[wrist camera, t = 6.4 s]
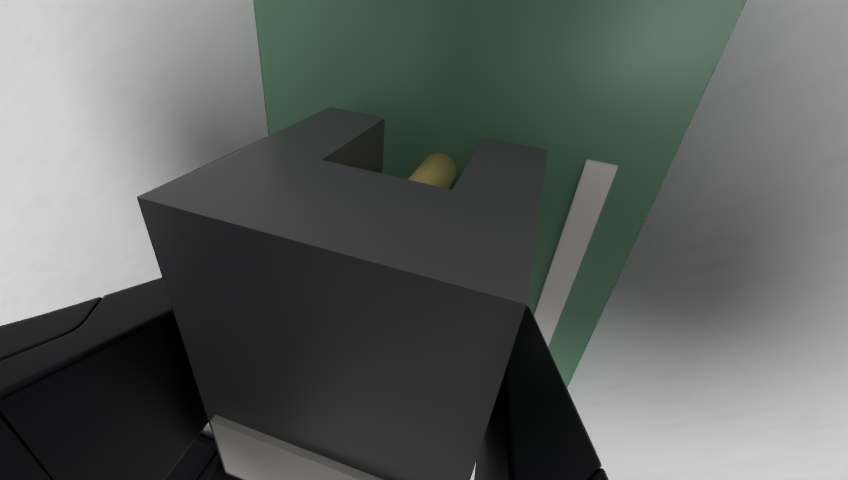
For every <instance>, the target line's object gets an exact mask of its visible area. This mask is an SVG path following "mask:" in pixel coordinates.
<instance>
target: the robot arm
mask: <svg viewBox="0 0 848 480" xmlns="http://www.w3.org/2000/svg"><path fill="white" fill-rule="evenodd" d="M208 422H209V421H208V418H207V415H206V412H205V408H204V405H203V402H202V399H201V396H200V393H199V390H198V387H197V383H196V380H195V377H194V374H193V371H192V368H191V365H190V362H189V358H188V355H187V352H186V349H185V346H184V343H183V340H182V337H181V333H180V330H179V327H178V324H177V321H176V318H175V315H174V312H173V308H172V305H171V302H170V299H169V296H168V293H167V290H166V287H165V283H164V280H163V277H162V278H159V279H156V280H153V281H150V282H146V283H143V284H140V285H137V286H134V287H130V288H127V289H124V290H121V291H118V292H114V293H111V294H108V295H105V296H104V297H103V298H101V297H98V298H95V299H92V300H89V301H85V302H82V303H79V304H76V305H73V306H69V307H66V308H63V309H59V310H56V311H53V312H49V313H46V314H43V315H39V316H36V317H32V318H28V319H25V320H21V321H17V322H14V323H10V324H6V325H2V326H0V480H241V479H238V478H236V477H234V476H231V475H229V474H227V473H225V471H224V468H223V465H222V462H221V458H220V455H219V452H218V449H217V446H216V443H215V442H214V441H212V440H209V439H207V438H204V437H202V436H199V434H200V432H201V431H202V430H203V428H204V427H205V426H206V424H207V423H208ZM600 467H601V462H600V460H599V458H598V456H597V453H596V451H595V449H594V447H593V445H592V442H591V440H590V438H589V436H588V434H587V431H586V429H585V427H584V425H583V423H582V421H581V418H580V416H579V414H578V412H577V410H576V407H575V405H574V403H573V401H572V399H571V396H570V394H569V392H568V390H567V388H566V385H565V383H564V381H563V379H562V377H561V374H560V372H559V370H558V368H557V366H556V363H555V361H554V359H553V357H552V355H551V352H550V350H549V348H548V346H547V344H546V341H545V339H544V337H543V335H542V333H541V330H540V328H539V326H538V324H537V322H536V319H535V317H534V315H533V313H532V311H531V309H530V307H529V306H527V305H526V308H525V311H524V314H523V317H522V320H521V323H520V327H519V330H518V333H517V336H516V339H515V342H514V345H513V348H512V351H511V354H510V357H509V361H508V364H507V367H506V370H505V373H504V376H503V379H502V382H501V385H500V388H499V392H498V395H497V398H496V401H495V404H494V407H493V410H492V413H491V416H490V419H489V422H488V426H487V429H486V432H485V435H484V438H483V441H482V444H481V447H480V450H479V453H478V457H477V460H476V468H475V479H474V480H609V479H608V477H607V475H606V473H605V471H604V469H602V468H600Z"/></svg>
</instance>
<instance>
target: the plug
mask: <svg viewBox="0 0 848 480" xmlns="http://www.w3.org/2000/svg"><path fill="white" fill-rule="evenodd" d="M384 129H385V118H383V117H378V116H373V115H368V114H363V113H358V112H353V111H348V110H343V109H338V108H333V107H329V108H327V109H325V110H323V111H321V112H319V113H316V114H314V115H312V116H310V117H308V118H306V119H304V120H301V121H299V122H297V123H295V124H293V125H291V126H289V127H286V128H284V129H282V130H280V131H278V132H276V133H273V134H271V135H269V136H267V137H265V138H263V139H261V140H258V141H256V142H254V143H252V144H250V145H248V146H246V147H243V148H241V149H239V150H237V151H235V152H233V153H231V154H228V155H226V156H224V157H222V158H220V159H218V160H216V161H213V162H211V163H209V164H207V165H205V166H203V167H201V168H198V169H196V170H194V171H192V172H190V173H188V174H186V175H183V176H181V177H179V178H177V179H175V180H173V181H171V182H168V183H166V184H164V185H162V186H160V187H158V188H156V189H153V190H151V191H149V192H147V193H145V194H143V195H141V196H138V197H137V199H138V202H139V205H140V208H141V212H142V215H143V218H144V221H145V224H146V227H147V230H148V233H149V237H150V240H151V243H152V246H153V249H154V252H155V255H156V258H157V262H158V265H159V268H160V271H161V274H162V277H163V280H164V283H165V287H166V290H167V293H168V296H169V299H170V302H171V305H172V308H173V312H174V315H175V318H176V321H177V324H178V327H179V330H180V333H181V337H182V340H183V343H184V346H185V349H186V352H187V355H188V358H189V362H190V365H191V368H192V371H193V374H194V377H195V380H196V383H197V387H198V390H199V393H200V396H201V399H202V402H203V405H204V408H205V412H206V415H207V418H208V421H209V424H210V427H211V430H212V433H213V437H214V440H215V443H216V446H217V449H218V452H219V455H220V458H221V462H222V465H223V468H224V471H225V473H227V474H229V475H231V476H234V477H236V478H238V479H241V480H470V478H471V475H472V472H473V469H474V466H475V463H476V460H477V457H478V453H479V450H480V447H481V444H482V441H483V438H484V435H485V432H486V429H487V426H488V422H489V419H490V416H491V413H492V410H493V407H494V404H495V401H496V398H497V395H498V392H499V388H500V385H501V382H502V379H503V376H504V373H505V370H506V367H507V364H508V361H509V357H510V354H511V351H512V348H513V345H514V342H515V339H516V336H517V333H518V330H519V327H520V323H521V320H522V317H523V314H524V311H525V308H526V305H527V298H528V291H529V284H530V276H531V269H532V262H533V255H534V248H535V240H536V233H537V226H538V219H539V211H540V204H541V197H542V190H543V182H544V175H545V168H546V161H547V154H548V150H544V149H539V148H534V147H529V146H524V145H519V144H514V143H509V142H504V141H499V140H494V139H489V138H483V139H482V141H481V143H480V144H479V146H478V148H477V149H476V151H475V153H474V154H473V156H472V158H471V159H470V161H469V163H468V164H467V166H466V168H465V169H464V171H463V173H462V174H461V176H460V178H459V179H458V181H457V183H456V184H455V186H454V188H453V189H447V188H443V187H438V186H434V185H430V184H425V183H421V182H416V181H412V180H408V179H403V178H399V177H395V176H390V175H386V174H382V169H383V149H384Z"/></svg>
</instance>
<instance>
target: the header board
mask: <svg viewBox="0 0 848 480" xmlns="http://www.w3.org/2000/svg"><path fill="white" fill-rule="evenodd" d="M253 1H254V10H255V19H256V27H257V36H258V45H259V54H260V63H261V72H262V81H263V89H264V98H265V107H266V116H267V125H268V134H269V135H271V134H273V133H276V132H278V131H280V130H282V129H284V128H286V127H289V126H291V125H293V124H295V123H297V122H299V121H301V120H304V119H306V118H308V117H310V116H312V115H314V114H316V113H319V112H321V111H323V110H325V109H327V108H329V107H333V108H338V109H343V110H348V111H353V112H358V113H363V114H368V115H373V116H378V117H383V118H385V129H384V149H383V169H382V174H386V175H390V176H395V177H399V178H403V179H408V180H412V181H416V182H421V183H425V184H430V185H434V186H438V187H443V188H447V189H453V188H454V186H455V184H456V183H457V181H458V179H459V178H460V176H461V174H462V173H463V171H464V169H465V168H466V166H467V164H468V163H469V161H470V159H471V158H472V156H473V154H474V153H475V151H476V149H477V148H478V146H479V144H480V143H481V141H482V139H483V138H489V139H494V140H499V141H504V142H509V143H514V144H519V145H524V146H529V147H534V148H539V149H544V150H548V154H547V161H546V168H545V175H544V182H543V190H542V197H541V204H540V211H539V219H538V226H537V233H536V240H535V248H534V255H533V262H532V269H531V276H530V284H529V291H528V298H527V306H529V307H530V309H531V311H532V313H533V315H534V317H535V319H536V322H537V324H538V326H539V328H540V330H541V333H542V335H543V337H544V339H545V341H546V344H547V346H548V348H549V350H550V352H551V355H552V357H553V359H554V361H555V363H556V366H557V368H558V370H559V372H560V374H561V377H562V379H563V381H564V383H565V385H566V388H567V387H568V385H569V383H570V380H571V378H572V376H573V374H574V372H575V370H576V367H577V365H578V363H579V361H580V359H581V357H582V355H583V352H584V350H585V348H586V346H587V344H588V342H589V339H590V337H591V335H592V333H593V331H594V329H595V326H596V324H597V322H598V320H599V318H600V316H601V313H602V311H603V309H604V307H605V305H606V303H607V301H608V298H609V296H610V294H611V292H612V290H613V288H614V285H615V283H616V281H617V279H618V277H619V275H620V272H621V270H622V268H623V266H624V264H625V262H626V259H627V257H628V255H629V253H630V251H631V249H632V247H633V244H634V242H635V240H636V238H637V236H638V234H639V231H640V229H641V227H642V225H643V223H644V221H645V218H646V216H647V214H648V212H649V210H650V208H651V205H652V203H653V201H654V199H655V197H656V195H657V193H658V190H659V188H660V186H661V184H662V182H663V180H664V177H665V175H666V173H667V171H668V169H669V167H670V164H671V162H672V160H673V158H674V156H675V154H676V151H677V149H678V147H679V145H680V143H681V141H682V139H683V136H684V134H685V132H686V130H687V128H688V126H689V123H690V121H691V119H692V117H693V115H694V113H695V110H696V108H697V106H698V104H699V102H700V100H701V97H702V95H703V93H704V91H705V89H706V87H707V85H708V82H709V80H710V78H711V76H712V74H713V72H714V69H715V67H716V65H717V63H718V61H719V59H720V56H721V54H722V52H723V50H724V48H725V46H726V43H727V41H728V39H729V37H730V35H731V33H732V31H733V28H734V26H735V24H736V22H737V20H738V18H739V15H740V13H741V11H742V9H743V7H744V5H745V2H746V0H253Z"/></svg>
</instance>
